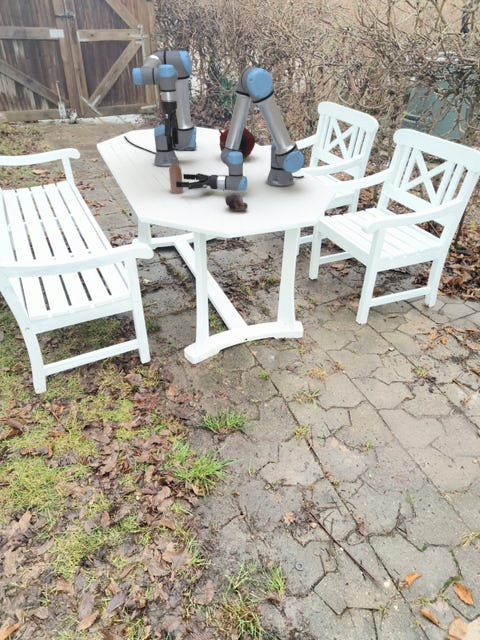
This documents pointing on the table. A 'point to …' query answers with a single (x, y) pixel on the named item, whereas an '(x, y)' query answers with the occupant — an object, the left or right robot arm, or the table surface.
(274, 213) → the table surface
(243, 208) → the rock
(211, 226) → the table surface
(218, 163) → the table surface
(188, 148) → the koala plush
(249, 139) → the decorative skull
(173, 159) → the cap
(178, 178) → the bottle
